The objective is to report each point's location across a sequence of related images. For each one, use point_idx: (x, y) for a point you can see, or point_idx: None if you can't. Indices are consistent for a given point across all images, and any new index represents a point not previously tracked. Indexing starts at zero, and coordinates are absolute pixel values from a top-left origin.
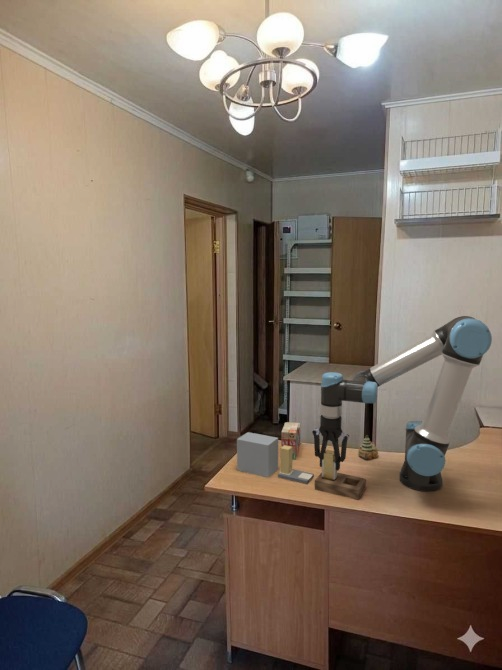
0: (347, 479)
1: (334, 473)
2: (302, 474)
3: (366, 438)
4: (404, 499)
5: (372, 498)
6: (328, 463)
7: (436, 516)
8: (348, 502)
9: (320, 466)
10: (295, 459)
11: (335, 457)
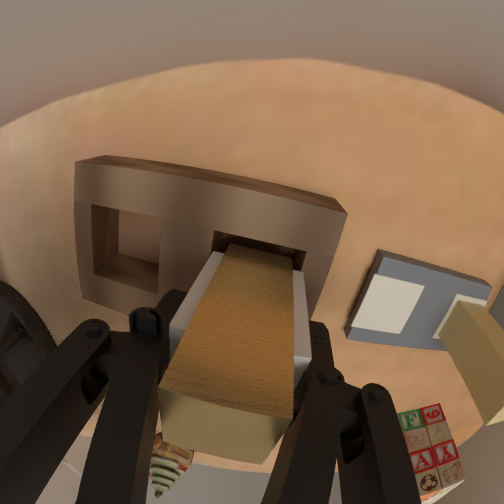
0: (156, 287)
1: (205, 271)
2: (401, 317)
3: (158, 489)
4: (9, 223)
5: (66, 192)
6: (242, 322)
7: None
8: (141, 112)
9: (320, 324)
10: (398, 414)
11: (148, 366)
